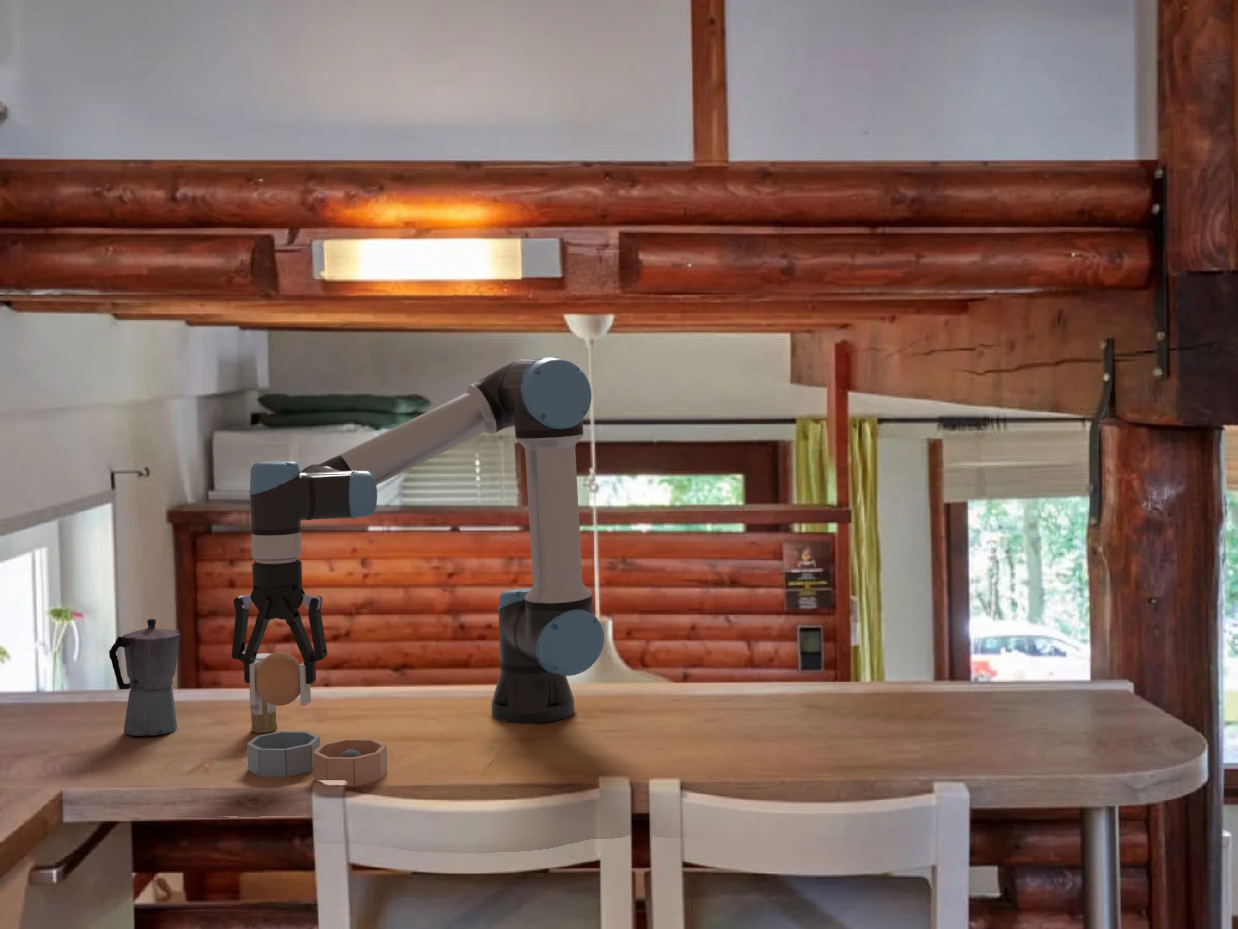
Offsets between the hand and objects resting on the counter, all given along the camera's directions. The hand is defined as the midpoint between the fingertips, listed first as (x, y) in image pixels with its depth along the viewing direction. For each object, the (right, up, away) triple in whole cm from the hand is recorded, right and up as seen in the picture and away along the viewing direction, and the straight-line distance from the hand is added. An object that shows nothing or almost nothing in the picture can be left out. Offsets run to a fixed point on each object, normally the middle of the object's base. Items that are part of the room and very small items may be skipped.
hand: (280, 703), depth 210 cm
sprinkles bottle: (-9, -9, +25) cm, 28 cm away
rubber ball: (+12, -10, -4) cm, 16 cm away
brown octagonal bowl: (+12, -11, -4) cm, 17 cm away
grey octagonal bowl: (0, -11, +1) cm, 11 cm away
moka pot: (-29, -10, +25) cm, 40 cm away
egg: (0, 0, 0) cm, 1 cm away
